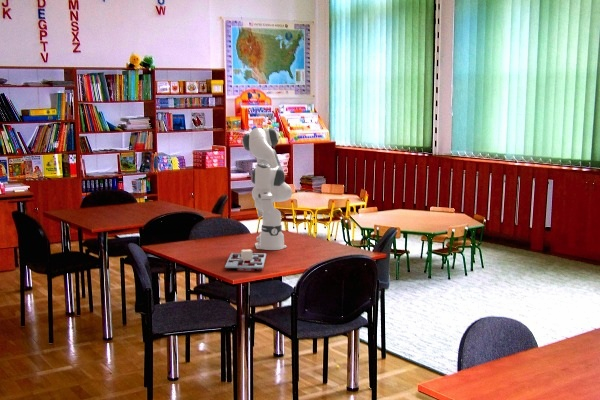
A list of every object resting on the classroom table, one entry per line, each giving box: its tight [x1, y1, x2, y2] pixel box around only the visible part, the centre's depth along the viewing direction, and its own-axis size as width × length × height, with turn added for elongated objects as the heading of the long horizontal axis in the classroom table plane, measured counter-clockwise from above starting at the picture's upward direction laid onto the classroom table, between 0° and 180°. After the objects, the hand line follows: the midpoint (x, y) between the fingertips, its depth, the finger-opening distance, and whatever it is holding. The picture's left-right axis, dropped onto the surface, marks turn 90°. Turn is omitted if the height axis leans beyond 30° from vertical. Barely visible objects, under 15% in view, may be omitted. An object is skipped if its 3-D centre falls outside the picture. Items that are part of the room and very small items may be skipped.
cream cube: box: [240, 248, 254, 261], centre depth 387 cm, size 5×5×5 cm
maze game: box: [224, 252, 267, 272], centre depth 388 cm, size 35×20×3 cm, turn 0°
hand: (261, 218), depth 393 cm, fingers open, 8 cm apart
